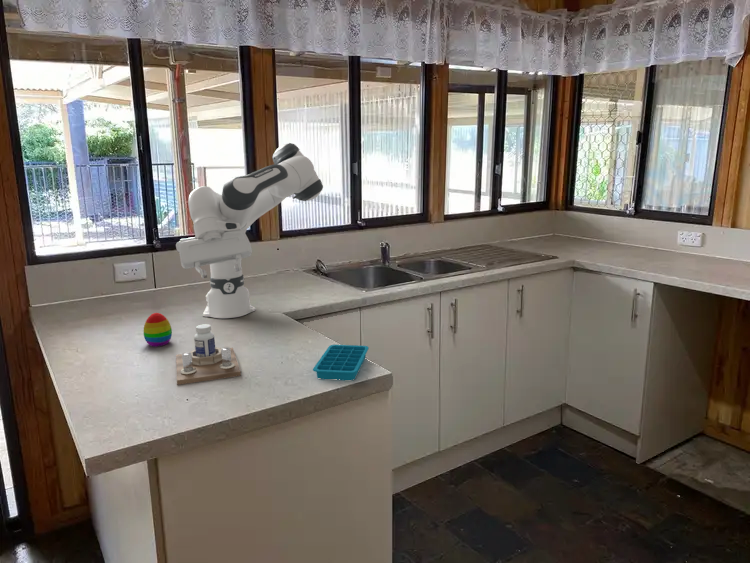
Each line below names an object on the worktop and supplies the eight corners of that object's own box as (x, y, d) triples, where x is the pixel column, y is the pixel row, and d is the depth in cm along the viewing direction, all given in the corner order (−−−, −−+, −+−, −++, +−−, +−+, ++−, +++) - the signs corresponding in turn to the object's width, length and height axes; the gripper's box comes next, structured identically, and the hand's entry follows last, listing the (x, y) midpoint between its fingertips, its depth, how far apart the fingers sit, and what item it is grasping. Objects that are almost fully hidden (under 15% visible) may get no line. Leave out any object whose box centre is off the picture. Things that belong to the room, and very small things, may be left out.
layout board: (176, 358, 161) (175, 348, 160) (233, 351, 166) (232, 341, 166) (177, 384, 143) (176, 373, 142) (240, 375, 148) (240, 364, 147)
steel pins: (180, 370, 149) (178, 352, 148) (233, 362, 154) (232, 345, 153) (180, 375, 146) (178, 357, 144) (235, 368, 150) (234, 350, 149)
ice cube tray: (312, 381, 144) (311, 370, 144) (330, 354, 164) (330, 344, 163) (356, 383, 143) (355, 372, 142) (369, 355, 162) (369, 345, 161)
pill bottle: (213, 354, 161) (211, 322, 158) (218, 360, 156) (215, 327, 154) (194, 358, 158) (191, 325, 156) (198, 364, 153) (195, 330, 151)
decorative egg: (178, 342, 176) (175, 311, 173) (156, 349, 169) (153, 318, 167) (161, 338, 180) (157, 308, 177) (139, 345, 173) (135, 314, 171)
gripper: (173, 234, 159) (182, 275, 153) (245, 222, 165) (256, 261, 159) (175, 246, 164) (184, 286, 158) (245, 234, 171) (256, 272, 165)
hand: (221, 273), depth 159 cm, fingers open, 8 cm apart
